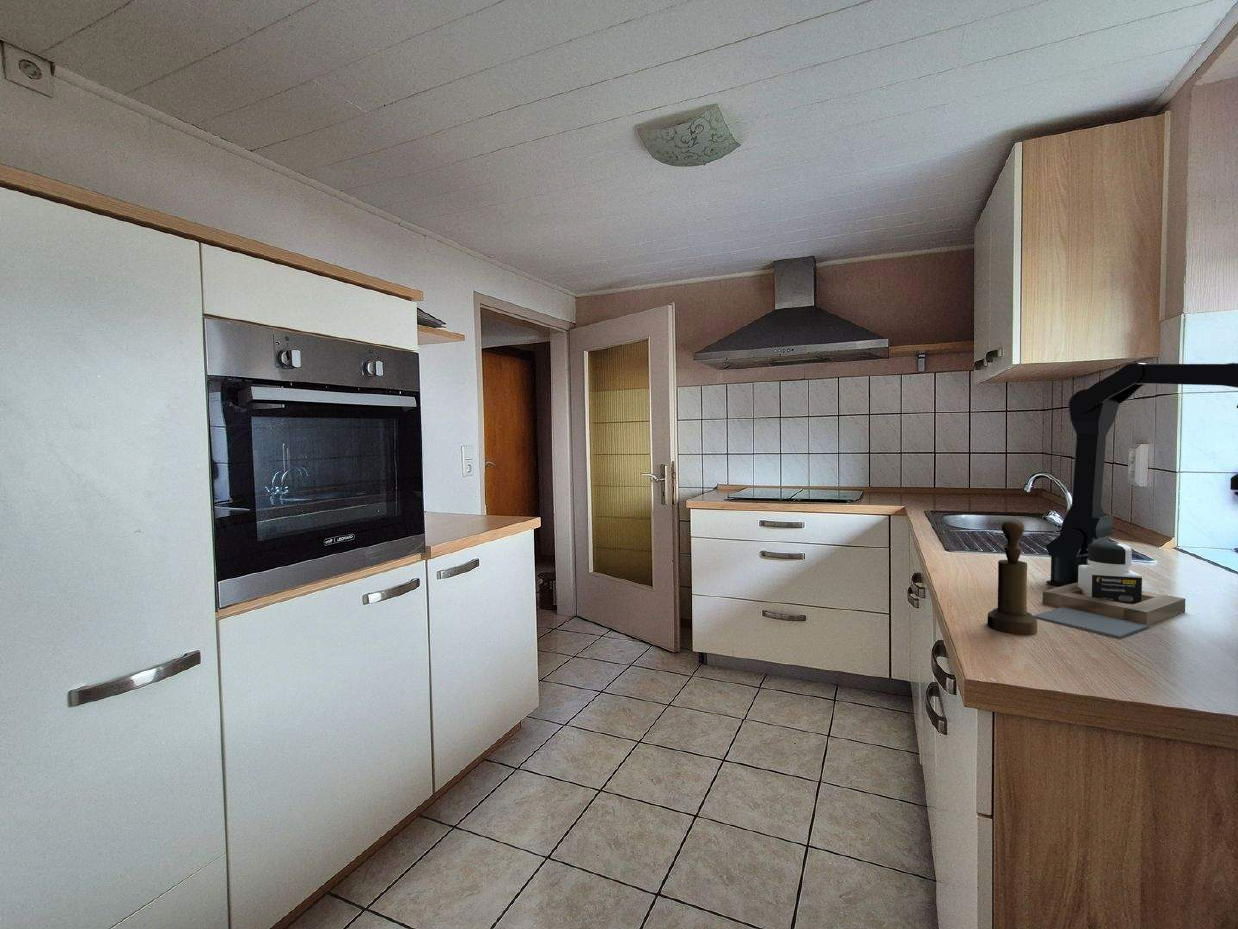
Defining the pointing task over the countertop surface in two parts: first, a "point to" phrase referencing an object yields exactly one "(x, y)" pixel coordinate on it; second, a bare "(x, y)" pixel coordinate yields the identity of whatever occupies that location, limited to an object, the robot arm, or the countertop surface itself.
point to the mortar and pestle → (1012, 588)
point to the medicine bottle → (1110, 574)
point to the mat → (1092, 622)
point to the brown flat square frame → (1117, 605)
